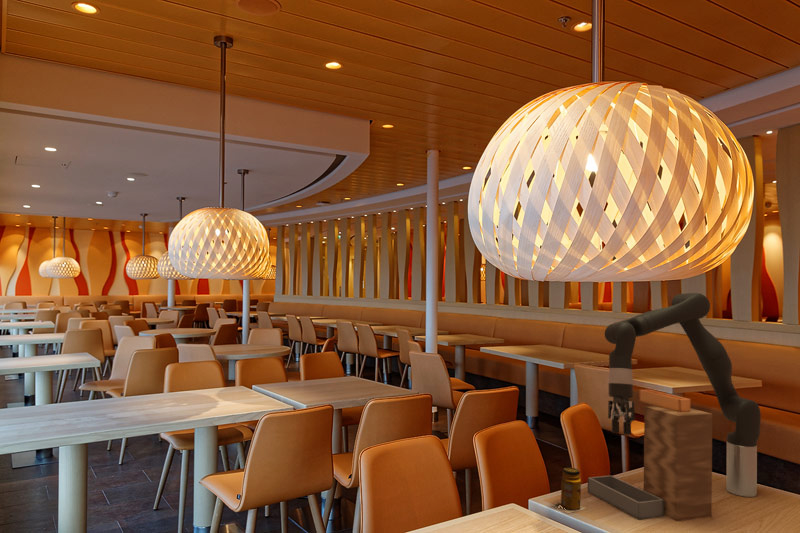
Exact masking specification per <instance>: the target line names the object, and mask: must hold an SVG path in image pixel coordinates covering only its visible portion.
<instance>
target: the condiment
mask: <svg viewBox="0 0 800 533" xmlns="http://www.w3.org/2000/svg"><path fill="white" fill-rule="evenodd" d="M580 476H581V471H580V470H579V469H578V468H575V467H564V468H563V469H562V476H561V479H560V480H561V482H560V483H561V484H560V485H561V487H560V490H561V492H560V502H558V503H555V504H554V503H553V504H551V507H553V508H555V509H557V510H559V511H562V512H563V513H567V514H570V513H575V512H579V511H583V510H586V509H587V508H586V507H584V506H582V505H581V496H582V495H581V494H582V492H581V491H582V480H581V477H580ZM559 505H561V506H562V507H563V509H562V508H561V507H560V508H558V506H559ZM564 508H565V509H566V510H565V509H564ZM569 510H570V511H569Z"/></svg>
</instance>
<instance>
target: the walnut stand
mask: <svg viewBox="0 0 800 533" xmlns="http://www.w3.org/2000/svg"><path fill="white" fill-rule="evenodd" d="M643 420H644V423H643V426H644V428H643V429H644V430H643V431H644V432H643V439H644V440H643V490H644V491H646V492H648V493H650V494H653V495H655V496H657V497H659V498H661V499H663V500H665V501H664V516H665V517H668V518H669V519H672V520H674V521H676V522H679V521H680V522H681V521H686V520H692V519H693V520H695V519H699V518H702V519H703V518H706V517H707V518H708V517H712V512H713V511H712V504H713V502H712V501H713V499H712V498H713V496H712V494H713V493H712V492H713V491H712V489H713V485H712V484H713V472H712V471H713V413H712V412H711V413H710V412H707V411H703V410H699V409H696V408H691V412H676V411H673V410H669V409H665V408H662V407H658V406H654V405H650V406H649V405H648V406H644V419H643Z"/></svg>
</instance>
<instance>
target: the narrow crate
mask: <svg viewBox="0 0 800 533" xmlns="http://www.w3.org/2000/svg"><path fill="white" fill-rule="evenodd" d="M691 400H692V399H691V398H687V397H683V396H678V395H674V394H672V393H671V394H670V393H667V392H662V391H657V390H653V389H648V388H647V389H638V402H639V403H643V404H648V405H650V406H658V407H662V408H665V409H669V410H673V411H676V412H691V405H692V404H691V403H692V402H691Z"/></svg>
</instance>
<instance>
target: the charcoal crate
mask: <svg viewBox="0 0 800 533" xmlns="http://www.w3.org/2000/svg"><path fill="white" fill-rule="evenodd" d="M587 493H588V494H590V495H591V496H594V497H596V498H597V499H600V500H602V501H603V502H605V503H607V504H609V505H610V506H612V507H614V508H616V509H617V510H619V511H622V512H623V513H625V514H627V515H629V516H631V517H633V518H634V519H637V520H638V521H639V520H646V519H654V518H663V517H665V515H664V501H665V500H663V499H661V498H659V497H657V496H655V495H653V494H650V493H648V492H646V491H644V489H642V488H640V487H637V486H635V485H633V484H631V483H629V482H627V481H625V480H622V479H621V478H618V477H617V476H614V475H611V474H609V475H602V476H601V475H600V476H592V477H587Z"/></svg>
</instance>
